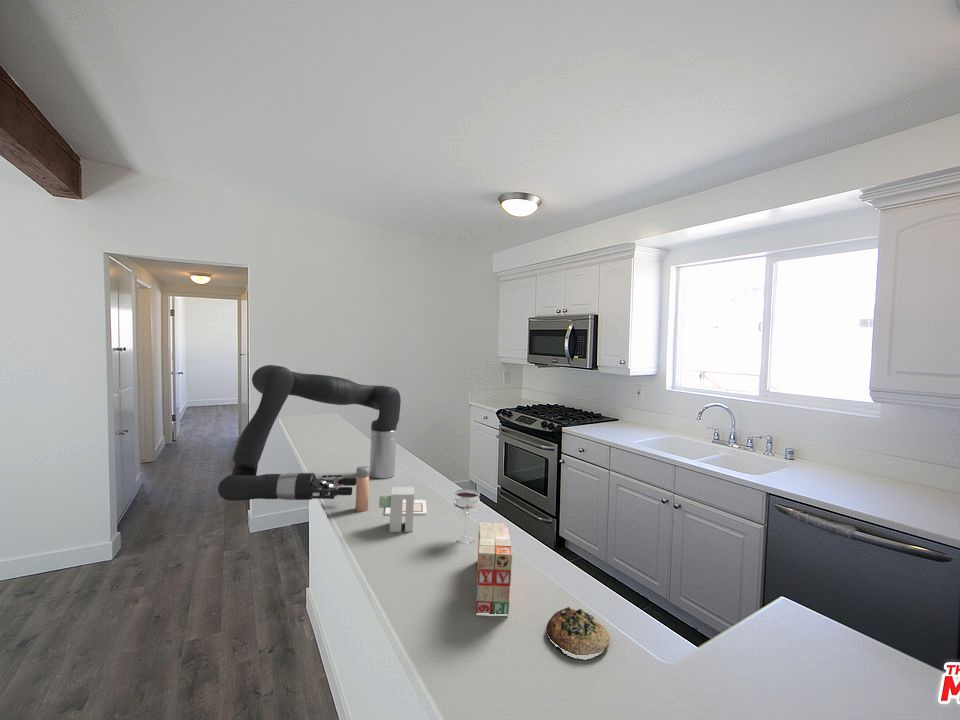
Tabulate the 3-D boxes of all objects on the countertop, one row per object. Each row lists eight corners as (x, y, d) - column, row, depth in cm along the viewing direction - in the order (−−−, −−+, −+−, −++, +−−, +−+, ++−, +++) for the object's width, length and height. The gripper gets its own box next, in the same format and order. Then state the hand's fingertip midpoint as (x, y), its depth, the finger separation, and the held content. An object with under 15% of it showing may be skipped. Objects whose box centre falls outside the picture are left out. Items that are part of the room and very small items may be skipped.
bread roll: (541, 616, 83) (547, 591, 83) (600, 628, 83) (605, 603, 82) (548, 661, 72) (554, 632, 72) (615, 675, 72) (622, 646, 71)
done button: (380, 505, 121) (380, 494, 120) (394, 505, 121) (395, 494, 121) (379, 509, 118) (379, 498, 117) (394, 509, 118) (394, 498, 118)
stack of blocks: (477, 560, 104) (479, 508, 103) (503, 562, 104) (506, 510, 103) (475, 616, 82) (478, 551, 82) (509, 618, 82) (512, 553, 82)
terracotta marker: (355, 507, 133) (357, 466, 132) (368, 507, 133) (370, 466, 133) (354, 512, 129) (355, 469, 129) (367, 511, 130) (369, 470, 129)
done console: (390, 522, 123) (392, 487, 122) (412, 522, 124) (414, 487, 123) (389, 532, 117) (391, 494, 116) (412, 531, 118) (414, 494, 117)
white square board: (387, 501, 139) (387, 499, 139) (425, 501, 140) (425, 499, 140) (384, 515, 128) (384, 513, 128) (426, 514, 130) (426, 512, 130)
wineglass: (475, 546, 111) (477, 499, 110) (448, 542, 112) (451, 496, 112) (480, 535, 117) (482, 490, 117) (455, 532, 119) (457, 487, 118)
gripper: (290, 481, 121) (351, 481, 124) (303, 466, 135) (357, 466, 138) (289, 508, 121) (350, 507, 124) (302, 490, 136) (357, 490, 138)
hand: (354, 486), depth 131 cm, fingers open, 8 cm apart
